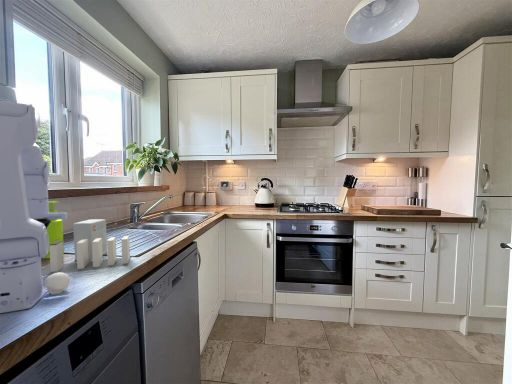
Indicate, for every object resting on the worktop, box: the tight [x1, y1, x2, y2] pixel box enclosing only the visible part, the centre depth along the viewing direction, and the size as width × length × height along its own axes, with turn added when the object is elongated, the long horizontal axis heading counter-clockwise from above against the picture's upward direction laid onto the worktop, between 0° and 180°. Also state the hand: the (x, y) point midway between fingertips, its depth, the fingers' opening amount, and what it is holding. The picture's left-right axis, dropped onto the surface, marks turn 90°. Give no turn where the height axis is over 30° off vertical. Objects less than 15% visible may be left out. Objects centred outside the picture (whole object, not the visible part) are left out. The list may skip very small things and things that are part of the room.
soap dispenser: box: [41, 200, 65, 259], centre depth 83 cm, size 6×7×20 cm
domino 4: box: [106, 236, 118, 265], centre depth 76 cm, size 5×2×8 cm, turn 21°
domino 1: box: [49, 239, 65, 272], centre depth 70 cm, size 5×2×8 cm, turn 22°
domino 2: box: [76, 239, 89, 269], centre depth 73 cm, size 5×2×8 cm, turn 21°
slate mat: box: [41, 256, 132, 277], centre depth 73 cm, size 9×24×1 cm, turn 111°
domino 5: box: [121, 235, 131, 264], centre depth 77 cm, size 5×2×8 cm, turn 21°
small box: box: [72, 218, 108, 261], centre depth 83 cm, size 8×6×13 cm
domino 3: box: [92, 238, 104, 267], centre depth 74 cm, size 5×2×8 cm, turn 21°
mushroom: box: [42, 272, 71, 296], centre depth 56 cm, size 5×5×5 cm
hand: (37, 244), depth 69 cm, fingers closed
